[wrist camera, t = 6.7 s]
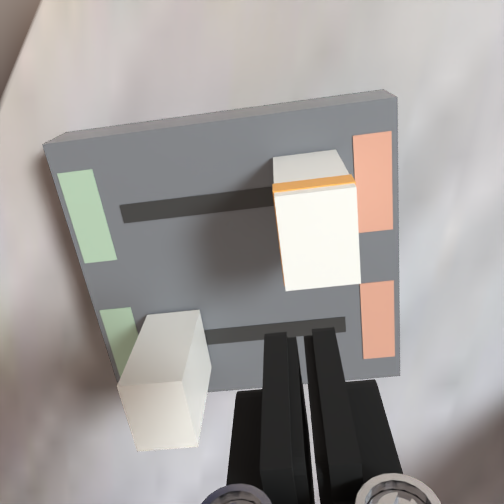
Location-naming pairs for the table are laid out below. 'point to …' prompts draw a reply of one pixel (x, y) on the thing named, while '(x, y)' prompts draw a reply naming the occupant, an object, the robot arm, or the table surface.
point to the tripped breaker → (316, 220)
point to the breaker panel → (223, 250)
